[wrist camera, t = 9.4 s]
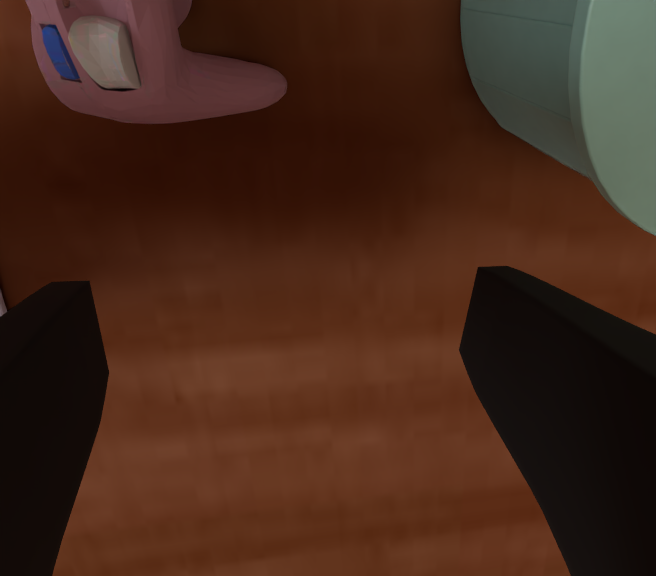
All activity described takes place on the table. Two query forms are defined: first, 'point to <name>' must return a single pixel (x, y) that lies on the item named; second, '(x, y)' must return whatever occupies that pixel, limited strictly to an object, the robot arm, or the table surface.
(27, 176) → the table surface
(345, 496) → the table surface
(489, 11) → the pot
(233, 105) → the video game controller
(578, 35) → the pot lid
